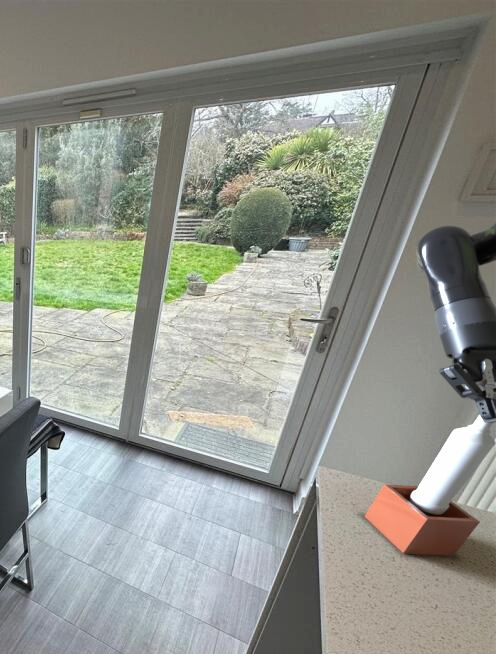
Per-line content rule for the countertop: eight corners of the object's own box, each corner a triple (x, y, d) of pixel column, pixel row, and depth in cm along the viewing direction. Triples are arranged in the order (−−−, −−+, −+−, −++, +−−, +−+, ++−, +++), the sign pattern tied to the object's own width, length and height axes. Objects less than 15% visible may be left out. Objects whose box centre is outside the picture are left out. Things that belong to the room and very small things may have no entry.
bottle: (433, 517, 77) (514, 404, 66) (401, 499, 82) (473, 389, 70) (451, 512, 79) (534, 400, 67) (419, 494, 83) (492, 386, 71)
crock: (409, 518, 88) (431, 486, 84) (453, 555, 79) (480, 521, 75) (364, 516, 88) (384, 484, 84) (403, 553, 79) (427, 519, 75)
